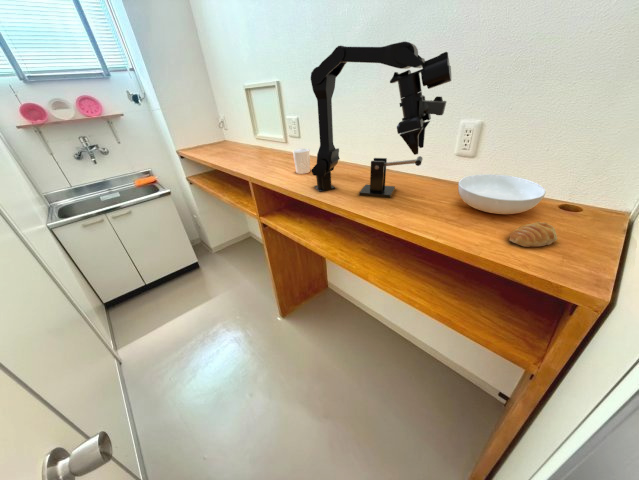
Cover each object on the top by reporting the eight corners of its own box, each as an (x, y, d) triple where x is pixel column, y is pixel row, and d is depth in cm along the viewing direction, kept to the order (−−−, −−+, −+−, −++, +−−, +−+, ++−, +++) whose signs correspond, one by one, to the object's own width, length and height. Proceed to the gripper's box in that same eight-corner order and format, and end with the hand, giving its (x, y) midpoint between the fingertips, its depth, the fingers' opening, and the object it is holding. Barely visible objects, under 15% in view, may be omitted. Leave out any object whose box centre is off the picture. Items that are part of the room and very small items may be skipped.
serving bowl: (451, 216, 72) (456, 193, 69) (456, 191, 88) (460, 171, 84) (543, 228, 63) (554, 203, 60) (530, 198, 79) (538, 176, 75)
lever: (422, 162, 83) (422, 155, 82) (421, 166, 79) (421, 158, 78) (376, 166, 90) (375, 160, 89) (373, 170, 86) (372, 163, 85)
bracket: (394, 189, 94) (397, 157, 88) (390, 198, 87) (393, 163, 81) (365, 187, 98) (366, 156, 92) (359, 195, 91) (359, 162, 85)
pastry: (527, 252, 55) (533, 237, 53) (499, 238, 61) (504, 224, 59) (557, 243, 58) (565, 228, 56) (528, 230, 63) (533, 216, 61)
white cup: (297, 169, 126) (294, 149, 121) (312, 169, 125) (310, 148, 119) (293, 174, 119) (290, 152, 114) (309, 174, 118) (307, 152, 113)
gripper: (437, 85, 60) (444, 151, 66) (445, 83, 74) (451, 138, 80) (391, 101, 66) (401, 160, 72) (406, 97, 80) (414, 146, 86)
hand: (419, 150), depth 77 cm, fingers open, 9 cm apart
